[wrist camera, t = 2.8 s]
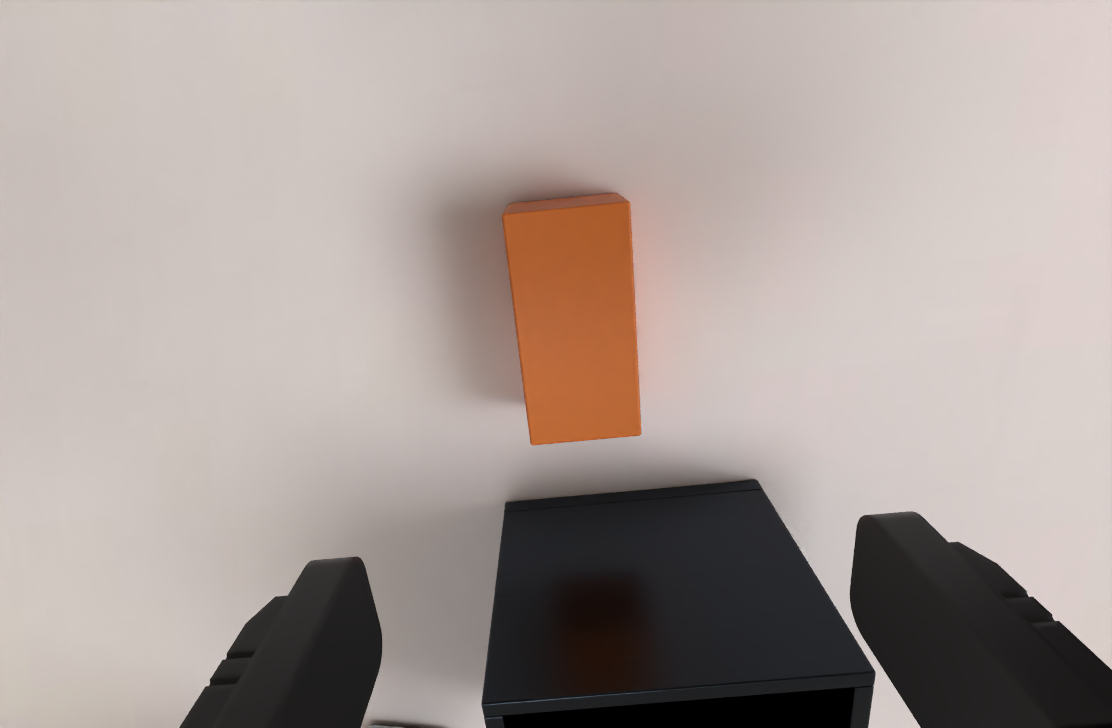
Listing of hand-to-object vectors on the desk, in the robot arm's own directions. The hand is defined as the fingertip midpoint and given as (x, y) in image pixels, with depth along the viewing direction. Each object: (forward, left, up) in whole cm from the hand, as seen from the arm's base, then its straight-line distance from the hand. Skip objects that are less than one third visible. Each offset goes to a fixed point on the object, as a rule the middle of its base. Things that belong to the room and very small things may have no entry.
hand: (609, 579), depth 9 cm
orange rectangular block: (0, 0, -16) cm, 16 cm away
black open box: (+16, +2, -16) cm, 23 cm away
